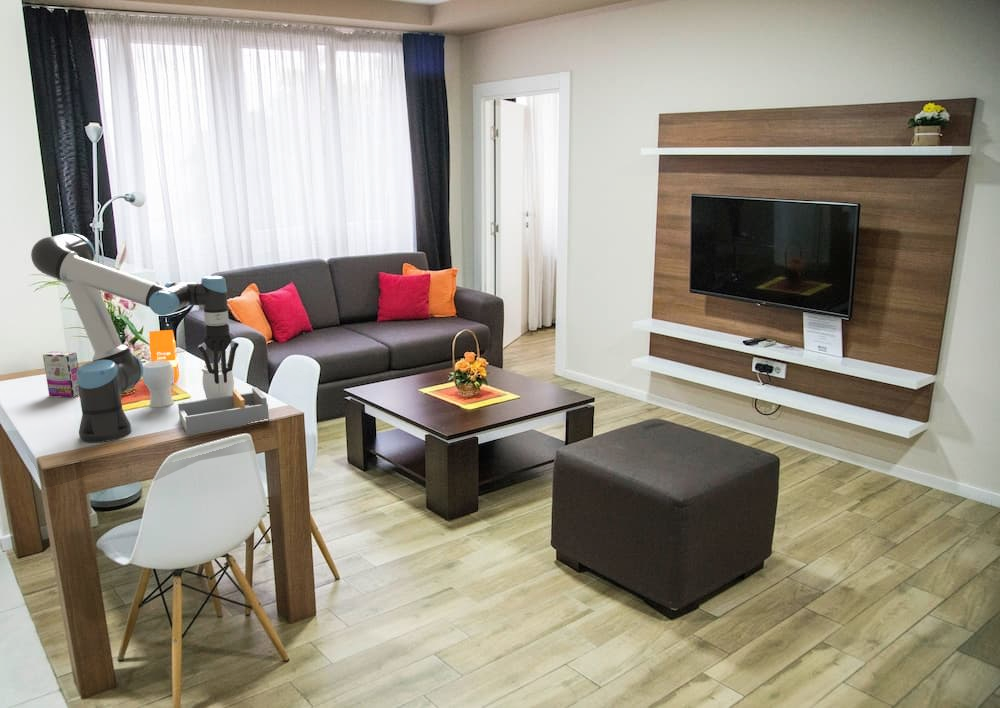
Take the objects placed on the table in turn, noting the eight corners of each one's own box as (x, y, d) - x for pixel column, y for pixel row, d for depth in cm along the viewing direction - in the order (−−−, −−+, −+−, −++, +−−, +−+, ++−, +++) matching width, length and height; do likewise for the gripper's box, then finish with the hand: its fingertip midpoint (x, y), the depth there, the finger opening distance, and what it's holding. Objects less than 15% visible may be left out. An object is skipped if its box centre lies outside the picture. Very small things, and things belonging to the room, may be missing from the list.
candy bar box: (83, 394, 307) (77, 352, 303) (73, 398, 302) (67, 355, 298) (58, 392, 309) (51, 350, 305) (48, 396, 305) (41, 354, 301)
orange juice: (156, 377, 328) (150, 329, 323) (179, 375, 330) (174, 327, 325) (153, 383, 320) (147, 333, 315) (177, 381, 323) (171, 331, 318)
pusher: (242, 420, 271) (240, 400, 269) (234, 409, 282) (232, 390, 280) (255, 418, 273) (253, 398, 271) (246, 407, 284) (244, 388, 282)
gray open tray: (187, 435, 261) (185, 411, 259) (179, 420, 276) (177, 397, 274) (269, 421, 273) (267, 398, 271) (257, 407, 288) (255, 386, 286)
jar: (226, 411, 284) (222, 370, 280) (199, 410, 286) (195, 369, 282) (241, 402, 294) (237, 362, 290) (215, 401, 296) (211, 361, 292)
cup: (139, 406, 291) (134, 366, 287) (163, 398, 300) (158, 359, 297) (160, 410, 287) (155, 369, 283) (184, 401, 296) (179, 362, 292)
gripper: (197, 327, 260) (203, 397, 266) (239, 323, 267) (243, 392, 272) (193, 322, 267) (199, 391, 273) (234, 319, 273) (239, 386, 279)
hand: (221, 392), depth 272 cm, fingers closed
